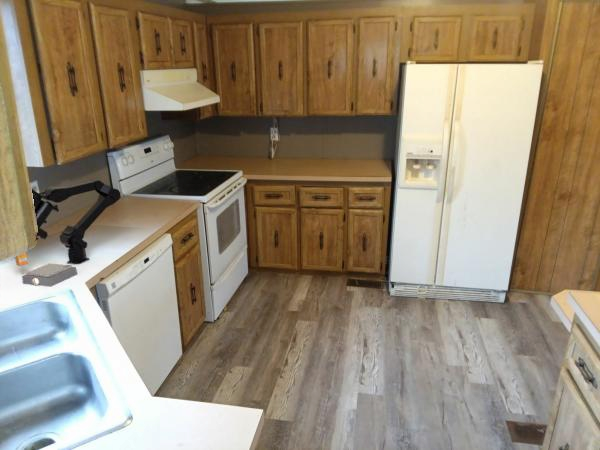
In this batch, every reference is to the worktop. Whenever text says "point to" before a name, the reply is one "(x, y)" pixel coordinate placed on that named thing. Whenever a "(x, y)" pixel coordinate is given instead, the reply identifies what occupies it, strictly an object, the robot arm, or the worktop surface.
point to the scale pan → (49, 270)
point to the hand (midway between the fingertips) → (14, 248)
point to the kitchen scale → (49, 278)
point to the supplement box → (21, 259)
